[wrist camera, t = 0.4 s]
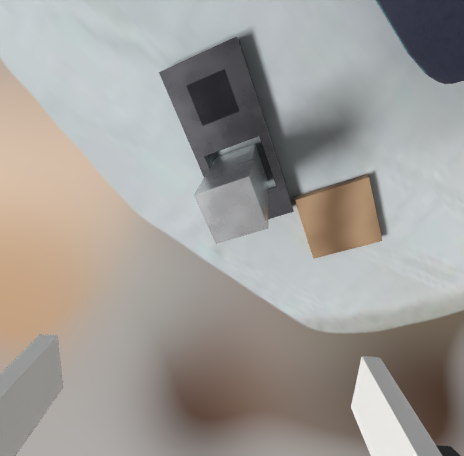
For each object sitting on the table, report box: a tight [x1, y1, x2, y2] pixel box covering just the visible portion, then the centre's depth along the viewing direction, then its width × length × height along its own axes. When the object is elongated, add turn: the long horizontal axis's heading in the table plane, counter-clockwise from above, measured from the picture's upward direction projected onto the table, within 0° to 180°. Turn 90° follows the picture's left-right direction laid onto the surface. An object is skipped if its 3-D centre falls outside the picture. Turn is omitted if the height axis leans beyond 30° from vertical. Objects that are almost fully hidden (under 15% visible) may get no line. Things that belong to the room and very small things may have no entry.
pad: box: [294, 175, 382, 258], centre depth 36 cm, size 8×8×1 cm
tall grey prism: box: [194, 144, 268, 244], centre depth 30 cm, size 4×4×12 cm
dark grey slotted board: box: [159, 37, 294, 219], centre depth 33 cm, size 8×18×2 cm, turn 21°
